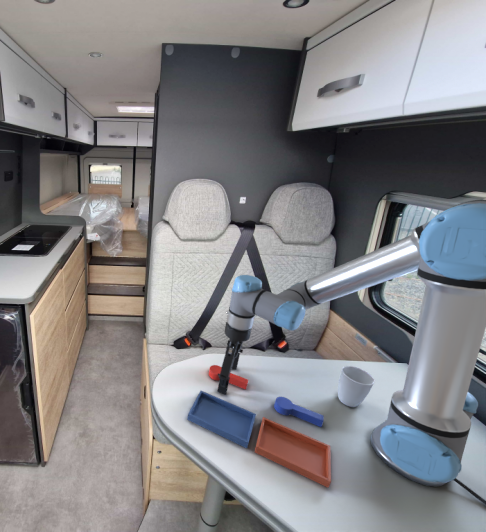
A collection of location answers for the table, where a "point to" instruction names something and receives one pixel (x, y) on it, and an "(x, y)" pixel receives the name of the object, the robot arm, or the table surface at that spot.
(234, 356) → the robot arm
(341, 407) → the table surface
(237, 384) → the red spoon
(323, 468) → the red tray
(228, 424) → the blue tray
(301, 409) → the blue spoon
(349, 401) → the cup
